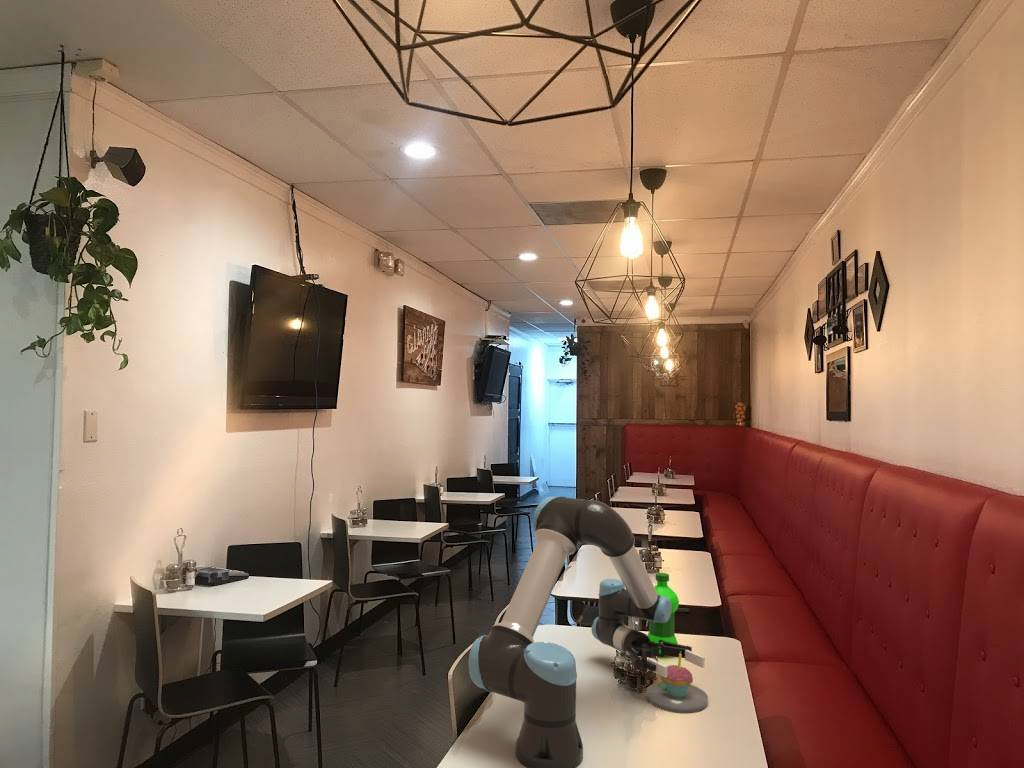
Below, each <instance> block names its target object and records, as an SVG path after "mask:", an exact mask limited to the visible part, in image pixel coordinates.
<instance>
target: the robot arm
mask: <svg viewBox="0 0 1024 768" xmlns="http://www.w3.org/2000/svg"><path fill="white" fill-rule="evenodd" d="M533 518H534V520H533V521H532V529H533V531H534V538H535V540H536V544H535V546H534V548H533V551H532V553H531V555H530V557H529V559H528V562H527V563H526V566H525V568H524V571H523V573H522V575H521V577H520V580H519V581H518V584H517V586H516V589H515V591H514V593H513V595H512V597H511V600H510V602H509V604H508V606H507V608H506V610H505V613H504V615H503V617H502V620H501V622H499V623H496V624H493V625H492V626H491V628H490V631H489V633H488V635H486V634H485V635H481V636H478V637H477V638H476V639H475V640H474V642H473V643H472V645H471V648H470V651H469V656H468V673H469V676H470V678H471V681H472V682H473V684H474V685H475V686H477V687H478V688H480V689H483V690H485V691H486V692H488V693H493V694H494V693H495V694H498V695H501V696H504V697H507V698H510V699H513V700H517V701H520V702H523V706H524V707H523V713H524V714H523V720H522V723H521V728H520V730H519V734H518V737H517V739H516V743H515V757H516V758H517V760H518V761H519V763H521V764H522V765H524V766H525V767H527V768H575V767H577V766H578V765H580V764H581V763H582V761H583V758H584V744H583V741H582V737H581V734H580V732H579V728H578V724H577V722H576V721H577V720H576V719H577V717H576V714H577V711H576V709H577V705H576V704H577V697H576V696H577V679H578V674H577V673H578V672H577V665H576V664H577V663H576V658H575V657H574V654H573V653H572V652H571V651H570V650H569V649H568V648H566V647H565V646H562V645H559V644H557V643H554V642H545V641H536V642H535V641H534V635H535V633H536V631H537V629H538V626H539V624H540V622H541V619H542V617H543V613H544V612H545V610H546V606H547V604H548V603H549V600H550V598H551V594H552V593H553V590H554V588H555V585H556V583H557V581H558V578H559V575H560V573H561V571H562V568H563V566H564V564H565V561H566V558H567V556H570V555H573V554H575V552H576V550H577V548H578V544H584V545H592V546H595V547H597V548H599V550H600V551H601V552H602V554H603V555H605V556H606V557H608V558H609V560H610V561H611V563H612V565H613V567H614V569H615V570H616V573H617V574H618V577H619V578H620V579H617V578H606V579H603V580H601V581H600V583H599V589H598V592H599V593H598V615H597V617H596V618H595V619H594V620H593V623H592V624H591V630H590V631H591V634H592V636H593V637H594V639H596V640H598V641H599V642H600V643H601V644H602V645H605V646H609V647H611V648H613V649H615V650H617V651H619V652H621V653H623V654H624V653H626V655H625V657H626V658H627V659H629V661H630V662H631V663H632V665H633V667H634V668H635V669H636V670H641V669H642V672H644V673H646V672H648V670H649V671H651V672H653V673H654V674H657V675H659V676H660V677H661V676H662V677H664V678H666V677H667V667H668V666H666V664H665V665H664V664H663V663H660V662H658V661H656V660H654V659H652V658H654V657H657V658H664V657H663V656H667V657H671V658H674V657H675V658H679V654H680V652H681V654H682V656H681V659H684V660H685V661H687V662H688V663H691V664H693V665H695V666H697V667H700V668H701V669H704V668H705V657H704V656H702V655H700V654H698V653H696V652H693V651H692V650H693V647H691V646H689V645H684V644H679V643H677V644H675V643H670V642H666V641H663V640H659V643H655V642H653V641H650V639H649V638H648V636H647V635H648V634H646V633H644V632H642V631H639V630H637V629H635V628H633V627H632V626H631V627H630V626H628V625H626V624H625V623H624V619H625V617H631V618H636V619H640V620H645V621H649V622H650V621H652V622H659V623H666V622H667V621H668V620H669V618H670V615H671V611H672V605H671V601H670V599H669V598H667V597H664V596H662V595H661V596H659V595H658V593H657V591H656V589H655V585H654V583H653V581H652V579H651V578H650V576H649V572H648V571H647V569H646V567H645V565H644V562H643V560H642V558H641V557H640V556H641V555H639V552H638V550H637V548H636V546H635V541H636V540H635V539H636V538H635V536H634V533H633V531H632V529H631V527H630V526H629V524H628V523H627V521H626V520H625V519H624V518H623V517H622V516H621V514H620V513H618V512H617V511H616V510H615V509H613V508H612V507H611V506H609V505H607V504H606V503H605V502H602V501H599V500H594V499H582V498H572V497H566V496H564V495H560V496H559V495H558V496H548V497H545V498H544V499H543V500H541V501H540V502H539V503H538V505H537V507H536V509H535V510H534V513H533ZM659 649H660V650H661V654H660V653H659ZM638 656H642V659H640V658H639V657H638Z"/></svg>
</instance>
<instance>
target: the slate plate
mask: <svg viewBox="0 0 1024 768" xmlns="http://www.w3.org/2000/svg"><path fill="white" fill-rule="evenodd" d="M645 693H646V696H647V697H646V700H647V699H648V700H647V702H649V703H650V702H651V703H652V704H653V705H652V704H651V703H650V704H651V705H652V706H654V705H655V706H654V707H656V706H657V707H656V708H658V707H659V708H658V709H660V708H661V710H663V709H664V710H663V711H666V710H668V711H667V712H670V711H671V712H672V713H676V714H677V713H678V714H679V713H680V714H689V713H690V714H691V713H698V712H700V711H703V710H705V709H706V708H707V707H708V702H709V701H708V699H709V698H708V694H707V693H706V692H705V691H704V690H703V689H701V688H700V687H697V686H696V685H692V684H690V686H689V688H688V690H687V694H686V696H684V697H674V696H671V695H669V693H668V691H667V687H666V684H665V683H664V682H663V681H660V682H655V683H652V684H651V685H648V687H647V688H646V691H645Z"/></svg>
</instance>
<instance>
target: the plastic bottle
mask: <svg viewBox="0 0 1024 768" xmlns="http://www.w3.org/2000/svg"><path fill="white" fill-rule="evenodd" d="M655 581H656V583H657V584H655V585H654V587H655V589H656V591H657V593H658V595H659V596H661V595H662V596H664V597H667V598H669V599H670V601H671V605H672V611H671V615H670V618H669V620H668V621H667V622H666V623H659V622H652V621H649V627H648V628H649V631H648V633H647V634H646V635H647V636H648V638H649V639H650V641H653V642H655V643H659V640H663V641H666V642H670V643H675V644H678V640H677V637H676V635H675V625H676V624H675V619H676V618H675V616H676V615H675V614H676V613H675V612H677V610H678V609H679V607H680V606H679V605H680V604H679V603H680V601H679V600H680V599H679V597H678V595H677V592H675V591H674V590H673V589H672V587H670V586H669V585H668V582H670V574H669V573H666V572H656V573H655ZM659 653H660V654H661V650H660V649H659ZM664 657H665V658H666V657H668V656H663V657H662V658H664Z"/></svg>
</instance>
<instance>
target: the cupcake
mask: <svg viewBox="0 0 1024 768" xmlns="http://www.w3.org/2000/svg"><path fill="white" fill-rule="evenodd" d="M681 656H682V654H681V652H680V654H679V657H678V661H677V664H676V665H674V664H670V665H668V666H667V677H666V678H664V677H662V676H660V678H661V680H662V681H661V682H664V683H665V684H666V687H667V691H668V693H669V695H671V696H674V697H684V696H686V694H687V690H688V688H689V686H690V685H692V683H693V682H694V681H693V680H694V678H693V673H692V672H691V671H690V670H689V669H687V668H686V667H683V666H681V664H682V658H681Z"/></svg>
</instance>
